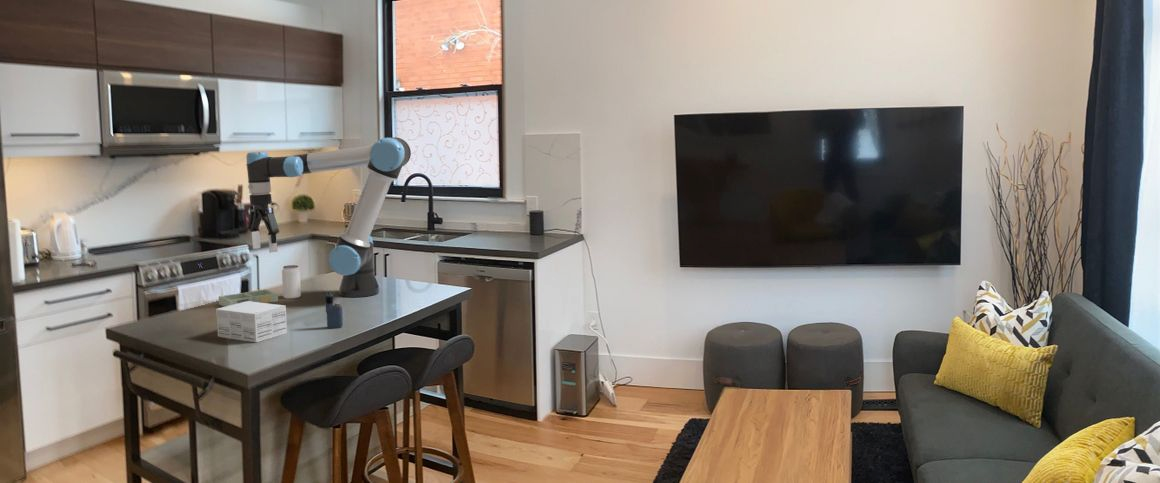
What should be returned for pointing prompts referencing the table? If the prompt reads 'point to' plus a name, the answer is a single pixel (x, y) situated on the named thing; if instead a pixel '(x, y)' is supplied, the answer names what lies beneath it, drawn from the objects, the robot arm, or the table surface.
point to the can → (291, 282)
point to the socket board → (249, 297)
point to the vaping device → (333, 312)
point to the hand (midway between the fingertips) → (265, 250)
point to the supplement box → (251, 321)
